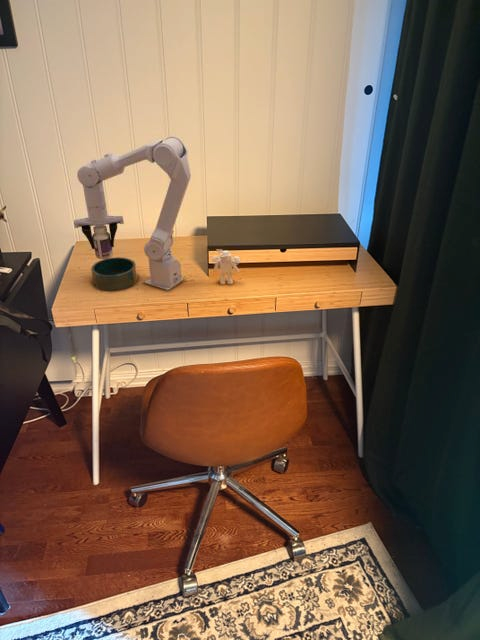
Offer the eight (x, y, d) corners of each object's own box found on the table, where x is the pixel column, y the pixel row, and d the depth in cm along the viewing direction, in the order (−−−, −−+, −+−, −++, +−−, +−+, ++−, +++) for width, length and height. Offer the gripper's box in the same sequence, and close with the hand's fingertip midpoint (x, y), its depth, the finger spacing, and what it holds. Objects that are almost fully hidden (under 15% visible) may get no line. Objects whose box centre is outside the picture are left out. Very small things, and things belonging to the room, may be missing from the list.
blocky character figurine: (211, 284, 150) (210, 250, 144) (213, 279, 154) (212, 244, 147) (240, 285, 150) (240, 250, 143) (241, 280, 153) (241, 245, 147)
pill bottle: (115, 252, 153) (111, 224, 148) (110, 259, 149) (105, 230, 144) (99, 252, 154) (94, 223, 148) (93, 259, 149) (88, 229, 144)
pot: (138, 269, 159) (136, 256, 157) (136, 289, 148) (134, 275, 145) (96, 272, 158) (94, 258, 155) (91, 292, 146) (88, 277, 144)
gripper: (120, 198, 147) (126, 239, 154) (71, 202, 144) (79, 244, 151) (121, 206, 141) (127, 248, 149) (70, 210, 138) (78, 253, 146)
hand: (103, 246), depth 150 cm, fingers closed on pill bottle, 5 cm apart
